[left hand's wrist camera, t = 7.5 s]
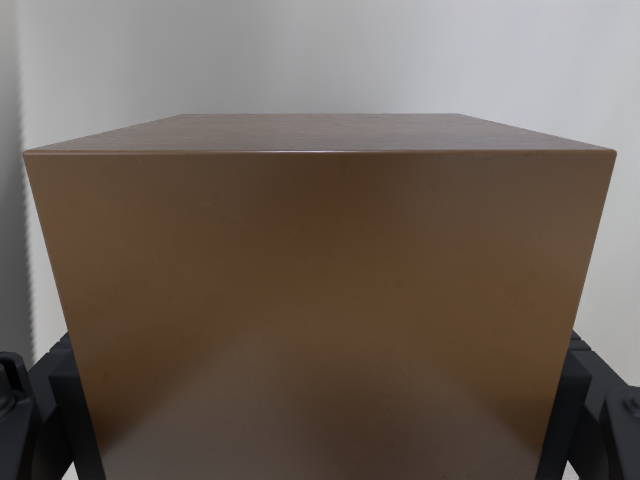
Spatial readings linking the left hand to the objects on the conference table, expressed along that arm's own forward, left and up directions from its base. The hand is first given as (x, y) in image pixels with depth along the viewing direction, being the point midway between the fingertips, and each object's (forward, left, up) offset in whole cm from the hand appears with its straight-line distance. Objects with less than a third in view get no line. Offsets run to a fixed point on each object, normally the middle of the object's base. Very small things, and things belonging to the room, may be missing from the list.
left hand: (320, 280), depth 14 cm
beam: (+22, -16, -1) cm, 27 cm away
